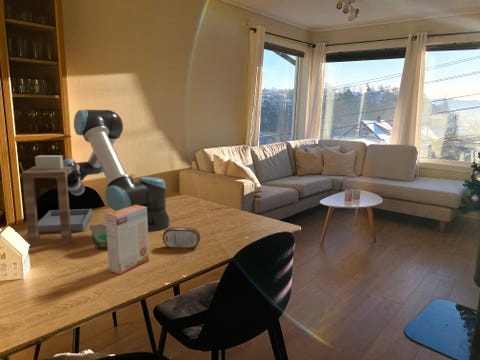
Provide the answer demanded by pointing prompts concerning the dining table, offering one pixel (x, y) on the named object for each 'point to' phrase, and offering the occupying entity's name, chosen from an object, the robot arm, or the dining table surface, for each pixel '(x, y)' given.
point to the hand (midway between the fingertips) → (60, 166)
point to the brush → (49, 161)
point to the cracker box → (127, 238)
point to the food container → (99, 236)
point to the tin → (181, 237)
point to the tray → (77, 221)
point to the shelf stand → (31, 202)
